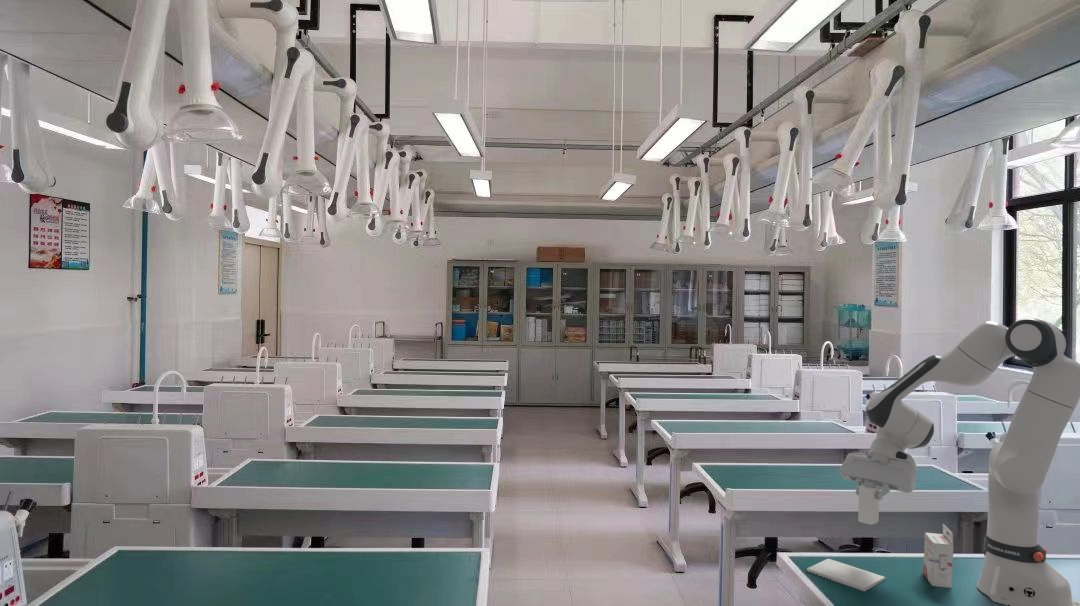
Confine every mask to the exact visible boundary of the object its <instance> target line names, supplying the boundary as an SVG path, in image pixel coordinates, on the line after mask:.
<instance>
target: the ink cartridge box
mask: <svg viewBox="0 0 1080 606" xmlns="http://www.w3.org/2000/svg"><path fill="white" fill-rule="evenodd" d="M923 548H924V550H923V567H922V574H923V576H925V578H926V579H927V581H928V583H930V585H931V587H939V588H947V589H948V588H949V589H951V588H952V586H953V585H952V583H953V566H954V565H953V564H954V563H953V562H954V533H953V532H952V531H951V530H950V529H949V528H948V527H947V526H946V525H945V524H944V523H942V533H935V532H934V533H932V532H924V547H923Z"/></svg>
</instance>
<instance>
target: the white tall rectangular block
mask: <svg viewBox="0 0 1080 606" xmlns="http://www.w3.org/2000/svg"><path fill="white" fill-rule="evenodd" d="M880 488H881V487H878V486H875V483H874V482H869V481H865V484H863V485H862V486H861V485H860V487H859V495H858V509H857V511H858V512H857V513H858V515H857V522H859V523H862V524H867V525H870V526H873V525H876V524H878V523H879V517H880V514H879V513H880V500H877V499H876V498H875V494H876V491H881V490H880Z"/></svg>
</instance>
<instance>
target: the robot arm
mask: <svg viewBox="0 0 1080 606" xmlns="http://www.w3.org/2000/svg"><path fill="white" fill-rule="evenodd" d="M1068 349H1069V341H1068V338H1067V336H1066V334H1065V333H1064V331H1062V329H1060V328H1058V327H1057V326H1056V325H1055V324H1053V323H1051V322H1049V321H1046V320H1042V319H1039V318H1034V317H1027V318H1026V317H1025V318H1022V319H1019V320H1016V321H1015V322H1013V323H1012V324H1010V326H1009V327H1007V325H1004V324H1002V323H1001V322H997V321H991V320H988V321H984V322H982V323H981V324H979V325H978V326H977V327H975V328H974V329H972V330H971V331H970V332H969V333H968V334H967V335H966V336H965V337H964V338H963V339H961V341H959V342H958V343H957V345H956V346H955V347H953V349H951V350H950V351H947V352H946V353H944V354H940V355H935V354H932V355H930V356H929V357H926V358H925V359H923V360H922V361H921V362H919V363H918V364H917V365H915V366H914V367H913V368H911V369H910V370H908V372H906V373H905V374H904V375H902V376H901V377H900V378H898V379H897V380H896V381H895V382H894V383H892V384H890V386H889V387H886V388H885V389H884V390H882V391H881V392H879V393H877V394H875V396H873V397H872V398H871V399H870V401H869V402H868V403H867V405H866V408H865V411H866V415H867V419H868V421H869V422H870V423H871V424H873V425H875V427H877V430H876V431H877V432H876V436H875V438H874V440H873V441H872V442H871V445H870V446H869V449H868V452H867V453H865V452H858V451H853V452H850V453H847V455H846V457H845V460H844V461H843V462H842V464H841V466H840V468H839V473H840V476H841V477H842V478H843V480H846V481H851V482H855V484H856V490H855V494H856V495H857V496H859V487H860V486H862V485H864V484H865V481H869V482H874V483H875V486H876V487H880V488H882V489H881V490H880V491H876V494H875V498H876V499H877V500H879V501H882V500H883V497H885V496H886V495H887V494H889V493H890V491H891V490H892V491H897V492H901V493H905V494H910V493H911V492H913V491H914V489H915V487H916V482H917V476H916V473H917V472H918V467H917V464H916V462H915V459H914V458H913V456H912V455H911V454H909V453H906V452H905V450H906V449H908V450H913V449H918V448H924V447H925V446H927V445H928V444H929V443H930V442H931V440H932V438H933V436H934V433H935V426H934V422H933V420H932V419H931V418H930V417H929V416H927V415H925V414H924V413H922V412H921V411H919V410H918V409H915V408H914V407H912V406H911V405H909V404H908V403H906V402H905V401H903V399H905V398H906V397H908V395H910V394H911V393H912V392H913V391H915V390H916V389H918V388H919V387H920V386H921V385H923V384H925V383H929V382H940V383H944V384H949V385H953V386H957V387H965V388H966V387H976V386H978V385H981V384H982V383H984V382H985V381H986V380H987V379H988V378H989V377H991V375H992V374H993V373H994V372H995V371H996V370H997V369H998V368H999V366H1000V365H1002V364H1003V363H1004V362H1005V361H1006V360H1007V359H1010V358H1012V357H1016V358H1018V359H1020V360H1021V361H1022V362H1023V363H1025V364H1026V365H1028V366H1029V367H1031V368H1032V372H1033V373H1032V376H1031V379H1030V380H1029V383H1028V385H1027V387H1026V389H1025V391H1024V393H1023V394H1022V397H1021V399H1020V401H1019V402H1018V404H1017V406H1016V409H1015V410H1014V413H1013V415H1012V417H1011V420H1010V424H1009V426H1008V430H1007V432H1006V433H1005V437H1004V440H1003V441H1000V442H998V443H996V444H995V445H994V446H992V448H991V450H990V451H989V455H988V486H987V488H988V489H987V490H988V491H987V492H988V494H987V498H988V505H987V506H988V507H987V508H988V509H987V526H986V533H985V535H984V540H983V556H984V560H983V564H982V568H981V572H980V576H979V578H978V581H977V583H976V588H977V589H978V590H979V591H980V592H981V593H982V594H984V595H986V596H988V597H989V599H990V600H991V601H993V602H994V603H996V604H997V603H998V604H1001V605H1005V606H1008V605H1010V606H1080V601H1079V600H1076V599H1074V598H1073V596H1072V588H1071V585H1070V583H1069V580H1067V578H1065V577H1064V576H1063V575H1062V574H1060V572H1058V571H1057V570H1056V569H1055V568H1054V567H1053V566H1052V565H1050V564H1049V563H1048V562H1047V560H1046V559H1047V553H1048V548H1047V547H1045V548H1043V547H1042V546H1041V545H1040V544H1039V543H1038V538H1039V536H1038V534H1039V519H1040V512H1039V511H1040V510H1039V498H1038V497H1039V493H1038V491H1039V489H1040V488H1041V487H1042V486H1043V485H1044V482H1045V479H1046V476H1047V473H1048V472H1049V469H1050V467H1051V464H1052V462H1053V459H1054V456H1055V453H1056V450H1057V448H1058V445H1059V441H1060V440H1061V437H1062V435H1063V433H1064V430H1065V429H1066V427H1067V425H1068V423H1069V421H1070V419H1071V418H1072V416H1073V413H1074V411H1075V410H1076V407H1077V405H1078V403H1079V402H1080V363H1079V362H1078V361H1076V360H1075V359H1072V358H1069V357H1068V356H1066V354H1067V352H1068Z"/></svg>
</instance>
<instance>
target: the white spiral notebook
mask: <svg viewBox="0 0 1080 606" xmlns="http://www.w3.org/2000/svg"><path fill="white" fill-rule="evenodd" d="M807 571H808V573H810V572H811V573H810V574H813V573H814V574H813V575H816V574H817V575H816V576H819V577H821V576H822V578H824V577H825V579H827V578H828V579H827V580H830V579H831V580H830V581H833V582H836V583H838V584H842V585H845V586H847V587H850V588H854V589H856V590H859V591H862V592H866V591H868V590H870V589H871V588H874V587H875V586H877V585H878V584H880V583H882V582H884V581H885V580H886V577H885V576H884V575H879V574H876V573H874V572H871V571H869V570H864V569H861V568H859V567H856V566H852V565H850V564H846V563H843V562H841V561H837V560H834V559H831V558H826V559H824V560H822V561H820V562H818V563H815V564H814V565H811V566H808V567H807V568H806V572H807Z"/></svg>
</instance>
